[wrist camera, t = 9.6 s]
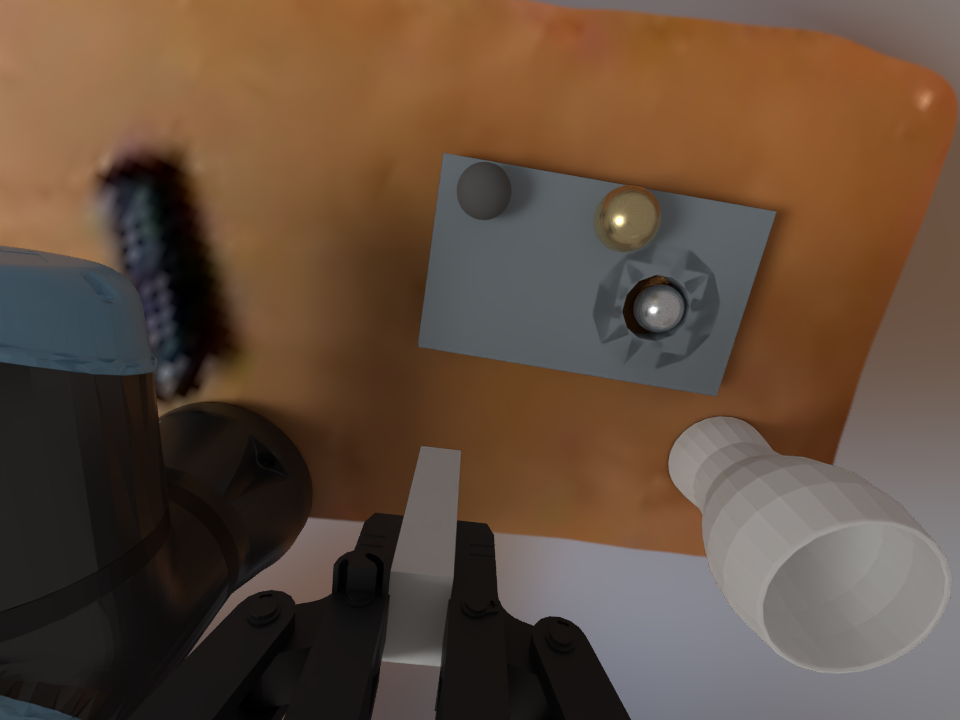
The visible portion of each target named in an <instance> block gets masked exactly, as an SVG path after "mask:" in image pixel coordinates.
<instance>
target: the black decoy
mask: <svg viewBox="0 0 960 720" xmlns="http://www.w3.org/2000/svg"><path fill="white" fill-rule="evenodd" d="M457 198H458V202H459V204H460V206H461V208H462V209H463V210H464V212H465V213H466V214H468V215H469V216H471V217H472V218H475V219H478V220H490V219H493V218H495V217H497V216H499V215H500V214H501V213H503V211H504V210H505V209H506V208H507V206H508V204H509V202H510V199H511V183H510V180H509V178H508V176H507V174H506V173H505V171H504V170H503V169H502V168H500V167H499V166H498V165H496V164H493V163H490V162H478V163H475V164H473V165H471V166H469V167H468V168H467V169H465V171H464V172H463V173H462V174H461V176H460V178H459V180H458V184H457Z"/></svg>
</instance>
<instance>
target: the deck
mask: <svg viewBox="0 0 960 720" xmlns="http://www.w3.org/2000/svg"><path fill="white" fill-rule="evenodd" d="M478 162H490V163H493V164H496V165H498V166H499V167H500V168H502V169H503V170H504V171H505V173H506V174H507V176H508V178H509V180H510V183H511V199H510V202H509V204H508V206H507V208H506V209H505V210H504V211H503V213H501V214H500V215H499V216H497V217H495V218H493V219H490V220H478V219H475V218H472V217H471V216H469V215H468V214H466V213H465V212H464V210H463V209H462V208H461V206H460V204H459V202H458V198H457V184H458V180H459V178H460V176H461V174H462V173H463V172H464V171H465V169H467V168H468V167H469V166H471V165H473V164H475V163H478ZM621 186H625V185H623V184H617V183H611V182H606V181H600V180H594V179H589V178H583V177H577V176H572V175H566V174H560V173H555V172H549V171H543V170H538V169H532V168H526V167H521V166H515V165H509V164H503V163H498V162H492V161H486V160H481V159H475V158H469V157H464V156H458V155H452V154H447V153H443V160H442V168H441V175H440V183H439V190H438V198H437V205H436V213H435V220H434V228H433V235H432V243H431V250H430V258H429V265H428V273H427V280H426V288H425V295H424V303H423V310H422V318H421V325H420V333H419V340H418V347H422V348H428V349H434V350H440V351H446V352H452V353H458V354H464V355H470V356H476V357H482V358H488V359H494V360H500V361H506V362H512V363H518V364H524V365H531V366H537V367H543V368H549V369H555V370H561V371H567V372H573V373H579V374H585V375H591V376H597V377H603V378H609V379H615V380H621V381H627V382H633V383H639V384H645V385H651V386H657V387H663V388H669V389H675V390H681V391H687V392H693V393H699V394H705V395H711V396H717V393H718V390H719V387H720V384H721V381H722V378H723V375H724V372H725V369H726V366H727V363H728V360H729V357H730V353H731V350H732V347H733V344H734V341H735V338H736V335H737V332H738V329H739V326H740V323H741V320H742V317H743V313H744V310H745V307H746V304H747V301H748V298H749V295H750V292H751V289H752V286H753V283H754V280H755V277H756V273H757V270H758V267H759V264H760V261H761V258H762V255H763V252H764V249H765V246H766V243H767V240H768V237H769V233H770V230H771V227H772V224H773V221H774V218H775V215H776V211H771V210H765V209H759V208H754V207H748V206H742V205H737V204H731V203H725V202H720V201H714V200H708V199H702V198H697V197H691V196H685V195H680V194H674V193H668V192H663V191H657V190H651V189H647V190H648V191H650V192H651V193H652V194H653V195H654V196H655V197H656V199H657V200H658V202H659V205H660V208H661V224H660V227H659V230H658V232H657V234H656V235H655V237H654V238H653V240H652V241H651V242H650V243H649V244H647V245H646V246H644V247H643V248H641V249H639V250H637V251H633V252H628V253H622V252H616V251H613V250H611V249H609V248H607V247H606V246H604V245H603V244H602V243H601V242H600V240H599V239H598V237H597V235H596V232H595V229H594V214H595V211H596V208H597V206H598V204H599V202H600V201H601V200H602V198H603V197H604V196H605V195H606V194H607V193H609V192H610V191H612V190H613V189H615V188H618V187H621ZM645 189H646V188H645ZM655 275H660V276H663V277H664V278H665V279H666V280H667V281H668V282H670V283H671V284H672V286H673V288H674V289H676V290H677V291H678V292H679V293H680V294H681V296H682V298H683V301H684V305H685V309H684V314H683V317H682V319H681V321H680V322H679V323H678V324H677V325H676V326H675V327H674V328H672V329H670V330H668V331H665V332H648V333H645V334H644V333H638V332H632V331H630V330H629V329H628V328H627V326H626V323H625V320H624V316H623V313H622V311H623V307H624V303H625V299H626V295H627V294H628V293H629V292H630V290H631V289H632V288H633V287H634V286H635V285H636V284H637V283H638V282H639V281H641V280H644V279H646V278H649V277H652V276H655Z"/></svg>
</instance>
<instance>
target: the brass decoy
mask: <svg viewBox="0 0 960 720" xmlns="http://www.w3.org/2000/svg"><path fill="white" fill-rule="evenodd" d="M660 224H661V208H660V205H659V202H658V200H657V199H656V197H655V196H654V195H653V194H652V193H651V192H650V191H648V190H647V189H645V188H643V187H640V186H636V185H625V186H621V187H618V188H615V189H613V190H612V191H610V192H609V193H607V194H606V195H605V196H604V197H603V198H602V200H601V201H600V202H599V204H598V206H597V208H596V211H595V214H594V229H595V232H596V235H597V237H598V239H599V240H600V242H601V243H602V244H603V245H604V246H606V247H607V248H609V249H611V250H613V251H616V252H622V253H628V252H633V251H637V250H639V249H641V248H643V247H644V246H646V245H647V244H649V243H650V242H651V241H652V240H653V238H654V237H655V235H656V234H657V232H658V230H659V227H660Z"/></svg>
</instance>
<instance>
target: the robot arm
mask: <svg viewBox="0 0 960 720" xmlns="http://www.w3.org/2000/svg"><path fill="white" fill-rule="evenodd" d="M157 364H158V362H157V358H156V356H155V355H154V354H153V353H152V352H151V348H150V343H149V338H148V333H147V327H146V322H145V317H144V311H143V306H142V301H141V298H140V295H139V294H138V292H137V290H136V288H135V287H134V286H133V284H132V283H131V282H130V281H129V280H128V279H127V278H125V277H124V276H123V275H122V274H120V273H118V272H117V271H115V270H114V269H112V268H109V267H107V266H105V265H102V264H99V263H96V262H93V261H89V260H85V259H80V258H75V257H70V256H65V255H59V254H54V253H48V252H41V251H35V250H29V249H22V248H15V247H8V246H1V245H0V720H282V718H283V716H284V715H285V717H284V720H371V717H372V712H373V708H374V703H375V698H376V693H377V688H378V683H379V674H380V665H381V660H382V661H387V662H388V661H389V662H398V663H409V664H420V665H431V666H441V668H440V676H439V683H438V690H437V698H436V705H435V711H436V717H435V720H631V719H630V717H629V715H628V713H627V712H626V709H625V708H624V706H623V704H622V702H621V701H620V699H619V697H618V695H617V693H616V691H615V689H614V687H613V685H612V684H611V682H610V680H609V678H608V676H607V674H606V672H605V671H604V669H603V667H602V665H601V663H600V661H599V660H598V658H597V656H596V654H595V652H594V650H593V648H592V647H591V645H590V643H589V641H588V639H587V638H586V636H585V634H584V633H583V632H582V630H581V629H580V628H579V627H578V626H576V625H575V624H574V623H572V622H571V621H569V620H566V619H564V618H561V617H551V616H549V617H546V618H543V619H540V620H539V621H538V622H537V623H536V624H535V625H534V626H533V625H530V624H527V623H525V622H522V621H520V620H518V619H516V618H514V617H513V616H511V615H510V614H509V613H507V612H506V610H505V609H504V608H503V607H502V605H501V603H500V601H499V598H498V592H497V576H496V561H495V549H494V546H495V545H494V534H493V533H492V531H491V530H490V528H489V526H488V525H487V524H485V523H476V522H467V521H457V510H458V493H459V476H460V459H461V450H452V449H444V448H435V447H426V446H421V448H420V453H419V457H418V461H417V465H416V469H415V473H414V477H413V481H412V485H411V489H410V494H409V498H408V502H407V506H406V510H405V514H404V516H400V515H391V514H382V513H374V514H373V515H372V516H371V517H370V518H369V519H368V520H366V521H365V523H364V525H363V528H362V531H361V533H360V536H359V539H358V542H357V545H356V547H355V550H354V551H351V552H347V553H346V554H344V555H343V556H341V557H340V558H338V560H337V561H336V562H335V564H334V568H333V569H334V570H333V586H332V594H330V595H329V596H327V597H325V598H323V599H320V600H317V601H313V602H308V603H302V604H296V605H295V602H294V600H293V599H292V597H291V596H290V595H288V594H286V593H284V592H281V591H274V590H269V591H263V592H259V593H256V594H254V595H251V596H249V597H247V598H246V599H245V600H244V601H242V602H241V603H240V604H238V606H237V607H236V608H235V609H234V610H233V611H232V612H231V613H230V614H229V615H228V616H227V617H226V618H225V619H224V620H223V621H222V622H221V623H220V624H219V625H218V626H217V627H216V628H215V629H214V630H213V631H212V632H211V633H210V634H209V635H208V637H206V639H204V641H203V642H202V643H201V644H200V645H199V646H198V647H197V648H196V649H195V650H194V651H193V652H192V653H191V654H190V655H189V653H190V652H191V650H192V649H193V648H194V646H195V645H196V643H197V642H198V641H199V639H200V638H201V636H202V635H203V633H204V632H205V630H206V629H207V628H208V626H209V625H210V623H211V622H212V621H213V619H214V618H215V616H216V615H217V613H218V612H219V611H220V609H221V608H222V606H223V605H224V603H225V602H226V601H227V599H228V598H229V597H230V595H231V594H232V593H233V592H234V591H236V590H237V589H239V588H240V587H241V586H242V585H244V584H245V583H247V582H248V581H249V580H251V579H252V578H253V577H255V576H256V575H257V574H259V573H260V572H261V571H263V570H264V569H266V568H268V567H269V566H271V565H272V564H274V563H275V562H276V561H278V560H279V559H280V558H281V557H282V556H283V555H284V554H285V553H286V552H287V551H288V550H289V549H290V547H291V546H292V545H293V543H294V542H295V540H296V538H297V536H298V535H299V534H300V532H301V530H302V529H303V527H304V525H305V523H306V522H307V519H308V517H309V513H310V510H311V504H312V486H311V480H310V476H309V472H308V469H307V467H306V464H305V462H304V460H303V458H302V456H301V454H300V453H299V451H298V450H297V448H296V447H295V446H294V444H293V443H292V442H291V441H290V439H289V438H288V437H287V436H286V435H285V434H284V433H283V432H282V431H281V430H279V429H278V428H277V427H276V426H275V425H273V424H272V423H270V422H269V421H267V420H266V419H264V418H263V417H261V416H259V415H257V414H255V413H253V412H251V411H248V410H246V409H243V408H240V407H237V406H233V405H228V404H222V403H195V404H190V405H185V406H182V407H179V408H176V409H174V410H172V411H170V412H168V413H166V414H164V415H162V416H161V417H159V418H158V409H157V400H156V391H155V382H154V374H153V371H155V370H156V368H157ZM188 655H189V656H188ZM187 656H188V657H187ZM285 713H286V714H285Z"/></svg>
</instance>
